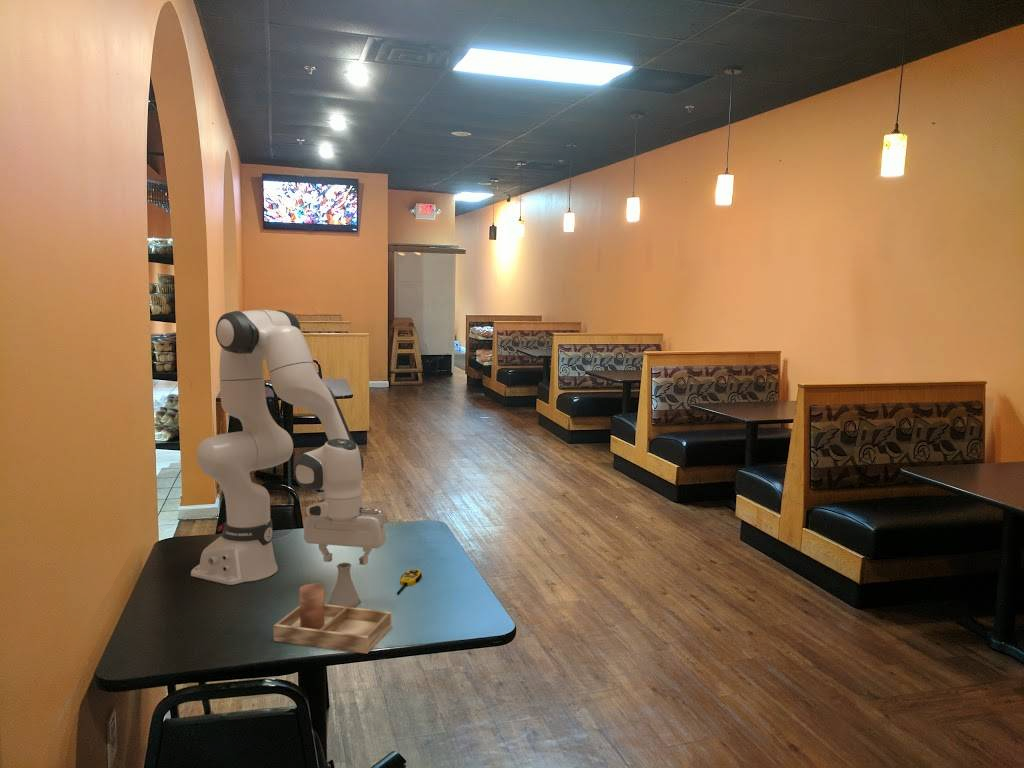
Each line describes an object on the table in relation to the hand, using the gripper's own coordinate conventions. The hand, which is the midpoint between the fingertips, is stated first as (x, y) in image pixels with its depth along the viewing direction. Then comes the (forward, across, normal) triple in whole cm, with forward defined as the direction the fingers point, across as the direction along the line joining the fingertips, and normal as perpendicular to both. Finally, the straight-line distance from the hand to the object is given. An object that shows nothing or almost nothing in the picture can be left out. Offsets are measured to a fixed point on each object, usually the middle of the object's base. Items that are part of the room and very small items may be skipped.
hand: (345, 562), depth 175 cm
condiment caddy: (+11, -4, +15) cm, 19 cm away
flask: (+11, +1, 0) cm, 11 cm away
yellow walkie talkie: (+11, -9, -16) cm, 22 cm away
